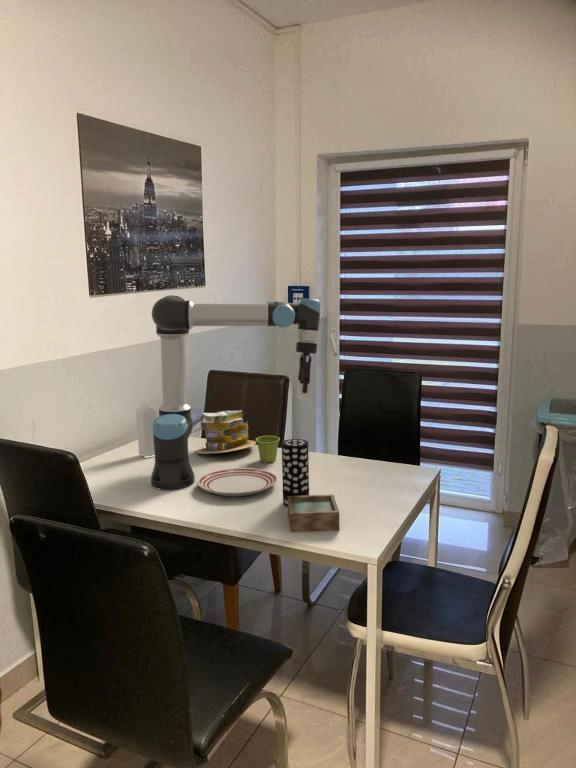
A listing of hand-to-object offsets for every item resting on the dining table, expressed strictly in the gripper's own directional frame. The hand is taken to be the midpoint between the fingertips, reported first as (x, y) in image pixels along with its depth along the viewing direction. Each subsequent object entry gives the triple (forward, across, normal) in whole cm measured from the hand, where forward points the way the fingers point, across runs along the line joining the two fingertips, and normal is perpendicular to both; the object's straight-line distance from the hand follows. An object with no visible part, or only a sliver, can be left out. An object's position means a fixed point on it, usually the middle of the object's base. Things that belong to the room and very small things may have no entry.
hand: (301, 400), depth 229 cm
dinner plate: (+31, -14, +21) cm, 40 cm away
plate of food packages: (+27, +30, +26) cm, 48 cm away
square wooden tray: (+31, -46, -2) cm, 56 cm away
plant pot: (+26, +15, +10) cm, 31 cm away
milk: (+30, +27, +57) cm, 70 cm away
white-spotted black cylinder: (+30, -31, +2) cm, 43 cm away
